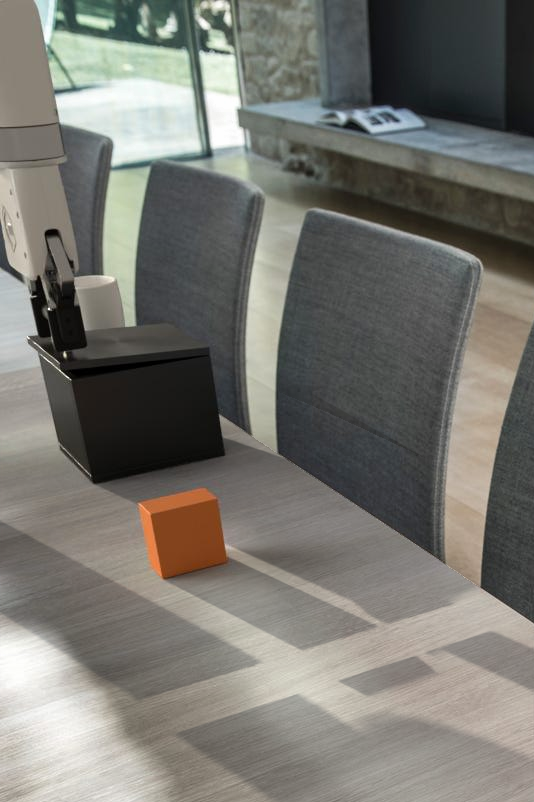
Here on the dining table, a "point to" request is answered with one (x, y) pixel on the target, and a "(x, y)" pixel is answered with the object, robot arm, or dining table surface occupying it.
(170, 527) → the orange block
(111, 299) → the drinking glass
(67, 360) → the bin lid
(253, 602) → the dining table surface
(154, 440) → the bin
